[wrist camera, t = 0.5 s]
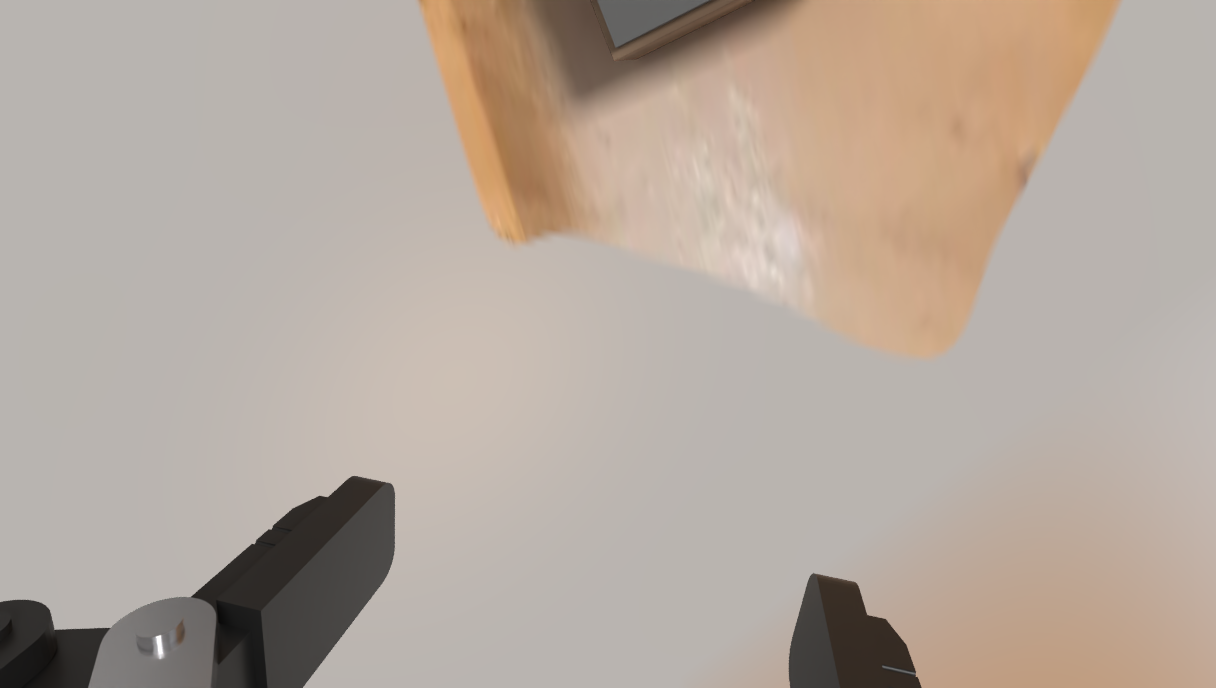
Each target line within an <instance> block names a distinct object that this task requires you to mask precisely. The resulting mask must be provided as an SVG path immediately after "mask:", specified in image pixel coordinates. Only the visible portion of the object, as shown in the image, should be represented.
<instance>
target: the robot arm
mask: <svg viewBox="0 0 1216 688" xmlns="http://www.w3.org/2000/svg"><path fill="white" fill-rule="evenodd" d="M394 544H395V492H394V488H393V486H392V484H390V483H386V482H381V481H377V480H371V479H367V478H362V477H358V476H352V477H350V478H349V479H348V480H346V481H345V482H344V483H343V484H342V485H341V486H340V487H339V488H338V489H337V490H336V491H334V492H333V493H332V494H331V495H330V496H329V497H323V496H318V497H316V498H314V499H312V500H310V501H308V502H306V503H304V504H302V505H299V506H297V507H295V508H293V509H292V510H291V511H289V513H287V514H286V515H285V516H284V517H283V518H281V519H280V520H279V521H278V522H277V523H276V524H274V525H273V528H272V530H268V531H266V532H265V533H264V534H263V535H262V536H261V537H260V538H258V539H257V540H256V543H255V544H251V545H250V546H249V547H248V548H247V549H246V550H244V551H243V552H242V553H241V554H240V555H239V556H238V557H236V558H235V559H234V560H233V561H232V562H231V563H230V564H228V565H227V566H226V567H225V568H224V569H223V570H222V571H220V572H219V573H218V574H217V575H216V576H215V577H213V578H212V579H211V580H210V581H209V582H208V583H207V584H205V585H204V586H203V587H202V588H201V589H199V590H198V591H197V592H196V593H195V594H194V595H193V596H191V597H176V598H169V599H164V600H160V601H156V602H153V603H150V604H148V605H145V606H143V607H141V608H138V609H136V610H135V611H133V612H131V613H129V614H128V615H126V616H125V617H123V618H122V619H120V620H119V621H118V622H117V623H116V624H114V625H113V626H112V627H111V628H94V629H66V630H54V625H53V621H52V617H51V613H50V610H49V609H48V608H47V607H46V606H45V605H44V604H42V603H39V602H36V601H31V600H12V601H4V602H0V688H303V686H304V685H305V684H306V682H307V681H308V680H309V679H310V677H311V676H312V674H313V673H314V672H315V671H316V669H317V668H318V667H319V665H320V664H321V663H322V661H323V660H324V659H325V658H326V656H327V655H328V653H329V652H330V651H331V650H332V648H333V647H334V645H335V644H336V643H337V642H338V641H339V639H340V638H341V637H342V635H343V634H344V633H345V631H346V630H347V629H348V627H349V626H350V625H351V623H352V622H353V621H354V620H355V618H356V617H357V616H358V614H359V613H360V611H361V610H362V609H363V608H364V606H365V605H366V604H367V602H368V601H369V600H370V599H371V597H372V596H373V595H374V593H375V592H376V591H377V589H378V588H379V587H380V585H381V584H382V583H383V581H384V579H385V578H386V576H387V574H388V572H389V570H390V567H391V564H392V560H393V556H394V548H395V545H394ZM915 674H916V671H915V668H914V666H913V662H912V660H911V657H910V654H909V651H908V648H907V646H906V644H905V643H904V642H903V640H902V639H901V638H900V637H899V635H898V634H897V633H896V632H895V630H894V629H893V628H892V627H891V625H890V624H889V623H888V622H887V620H886V619H883V618H878V617H873V616H869V615H867V613H866V610H865V606H864V603H863V600H862V596H861V593H860V590H859V587H858V585H857V583H855V582H852V581H847V580H843V579H838V578H833V577H828V576H823V575H819V574H812V575H811V576H810V578H809V580H808V583H807V587H806V591H805V594H804V598H803V601H802V605H801V608H800V612H799V616H798V619H797V623H796V626H795V630H794V634H793V637H792V642H791V648H790V656H789V681H790V688H921V685H920V682H919V679H918V677H916V675H915Z"/></svg>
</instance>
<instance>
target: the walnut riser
mask: <svg viewBox="0 0 1216 688" xmlns="http://www.w3.org/2000/svg"><path fill="white" fill-rule="evenodd" d="M590 1H591V3H592V6H593V8H594V11H595V14H596V16H597V19H598V21H599V24H600V26H601V29H602V32H603V34H604V37H605V39H606V42H607V44H608V47H609V49H610V52H611V55H612V57H613V60H614V61H618V60H631V59H637V58H639V57H641V56H643V55H645V54H647V53H649V52H651V51H653V50H656V49H658V48H660V47H662V46H664V45H666V44H668V43H670V42H672V41H674V40H676V39H678V38H680V37H682V36H684V35H686V34H688V33H690V32H692V31H694V30H696V29H698V28H700V27H702V26H704V25H706V24H708V23H710V22H712V21H714V20H716V19H718V18H720V17H722V16H724V15H726V14H728V13H730V12H732V11H734V10H736V9H738V8H740V7H742V6H745V5H747V4H749V3H751V2H753V1H755V0H590Z"/></svg>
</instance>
